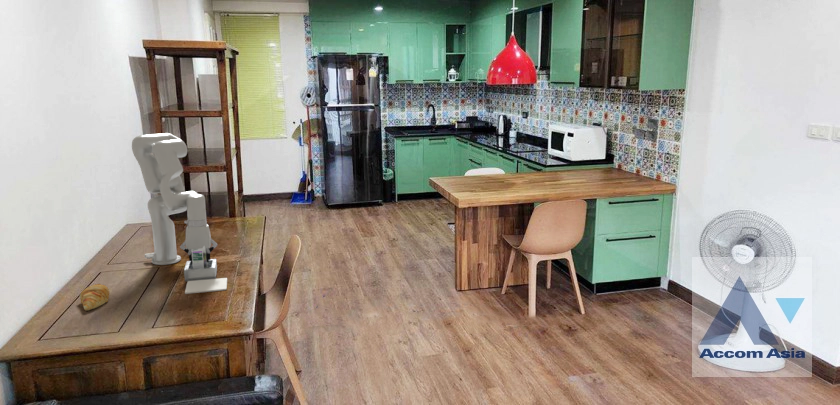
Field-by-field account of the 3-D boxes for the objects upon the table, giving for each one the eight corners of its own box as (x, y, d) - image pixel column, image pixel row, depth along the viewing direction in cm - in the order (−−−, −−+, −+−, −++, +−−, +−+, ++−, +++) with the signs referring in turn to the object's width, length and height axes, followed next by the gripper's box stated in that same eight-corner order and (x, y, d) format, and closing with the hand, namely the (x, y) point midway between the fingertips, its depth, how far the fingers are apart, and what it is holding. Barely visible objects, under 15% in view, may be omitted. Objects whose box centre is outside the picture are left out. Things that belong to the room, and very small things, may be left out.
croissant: (96, 320, 210) (105, 302, 209) (68, 311, 206) (77, 292, 205) (111, 297, 229) (119, 281, 229) (85, 289, 226) (93, 271, 225)
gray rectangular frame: (185, 281, 240) (184, 270, 239) (188, 266, 258) (188, 256, 257) (215, 278, 244) (215, 267, 243) (217, 264, 261) (216, 254, 260)
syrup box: (193, 277, 245) (190, 245, 241) (195, 272, 250) (192, 241, 247) (206, 276, 246) (204, 245, 242) (208, 271, 251) (206, 241, 248)
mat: (184, 293, 227) (184, 292, 227) (187, 282, 239) (187, 281, 239) (226, 290, 232) (226, 288, 231) (227, 279, 244) (227, 277, 243)
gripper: (174, 226, 236) (178, 266, 241) (218, 223, 241) (220, 263, 246) (176, 221, 243) (179, 260, 248) (218, 219, 248) (221, 257, 253)
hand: (200, 261), depth 247 cm, fingers closed on syrup box, 5 cm apart
